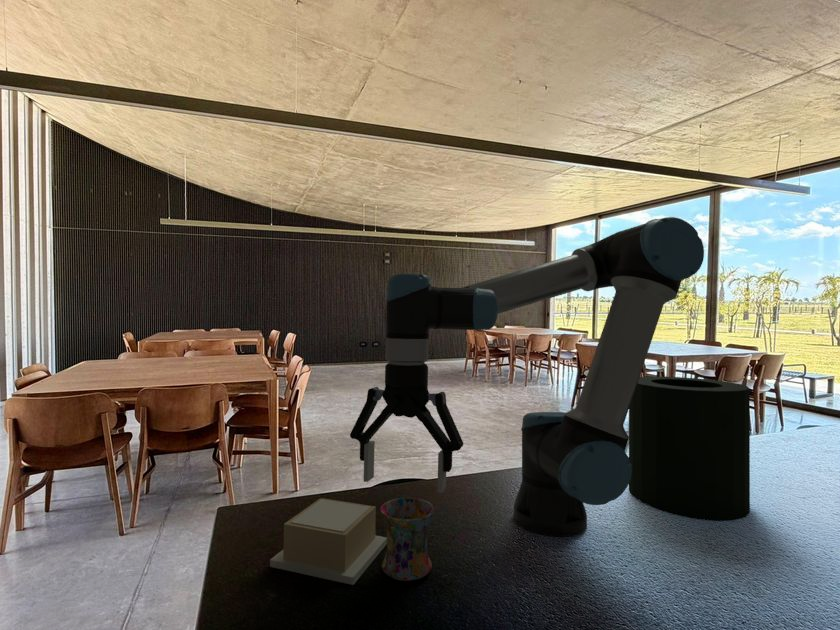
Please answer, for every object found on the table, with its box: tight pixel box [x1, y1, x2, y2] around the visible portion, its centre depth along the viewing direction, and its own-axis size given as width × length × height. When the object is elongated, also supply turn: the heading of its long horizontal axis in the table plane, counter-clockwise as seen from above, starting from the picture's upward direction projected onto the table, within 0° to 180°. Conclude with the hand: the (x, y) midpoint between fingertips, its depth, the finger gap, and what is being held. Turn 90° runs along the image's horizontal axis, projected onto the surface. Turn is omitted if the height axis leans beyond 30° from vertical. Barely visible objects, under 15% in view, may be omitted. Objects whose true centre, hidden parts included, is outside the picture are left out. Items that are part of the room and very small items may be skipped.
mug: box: [379, 497, 435, 582], centre depth 77 cm, size 12×9×11 cm
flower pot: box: [628, 376, 751, 522], centre depth 108 cm, size 25×25×28 cm
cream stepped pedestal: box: [269, 497, 388, 586], centre depth 81 cm, size 16×14×7 cm
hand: (404, 484), depth 77 cm, fingers open, 13 cm apart
